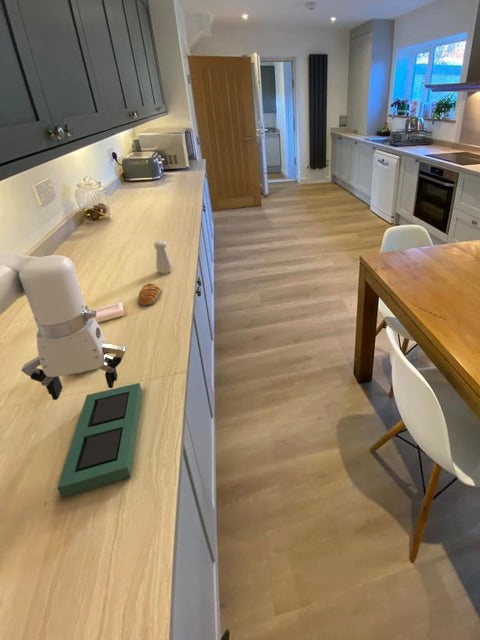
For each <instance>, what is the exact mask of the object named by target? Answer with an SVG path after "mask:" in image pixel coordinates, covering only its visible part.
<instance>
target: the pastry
mask: <svg viewBox="0 0 480 640" xmlns="http://www.w3.org/2000/svg"><path fill="white" fill-rule="evenodd" d="M160 292H161V287H160V286H158V285H157V284H156V283H152V282H151V283H146V284H144V285H143V286H142V287H141V289H140V291H139V292H138V300H139V302H140V304H141V305H142V306H147V305H152V304H154V303H155V301H156V300H158V298H159V296H160Z"/></svg>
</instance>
